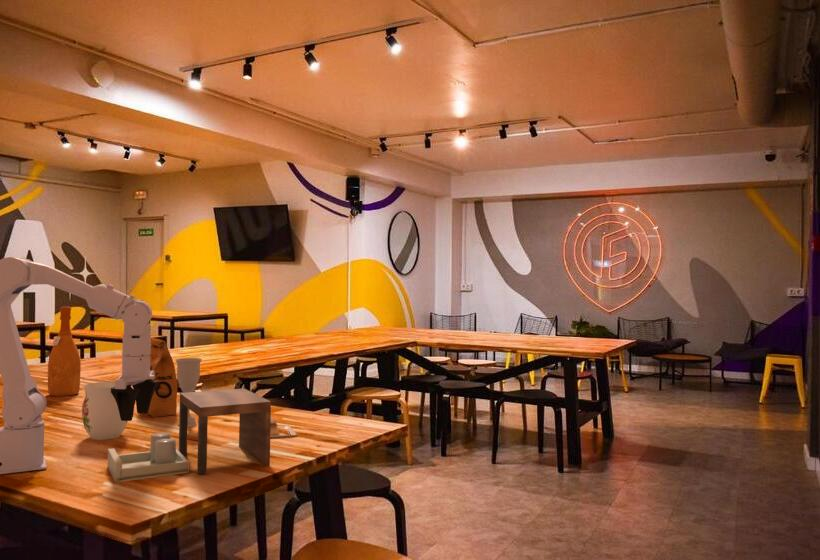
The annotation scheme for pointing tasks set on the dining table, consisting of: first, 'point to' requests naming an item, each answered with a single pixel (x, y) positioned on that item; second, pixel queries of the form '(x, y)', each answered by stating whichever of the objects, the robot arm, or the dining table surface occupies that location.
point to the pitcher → (101, 412)
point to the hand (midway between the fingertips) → (134, 416)
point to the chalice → (188, 379)
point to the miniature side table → (226, 403)
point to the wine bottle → (64, 360)
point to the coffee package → (163, 380)
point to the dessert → (275, 431)
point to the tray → (148, 461)
